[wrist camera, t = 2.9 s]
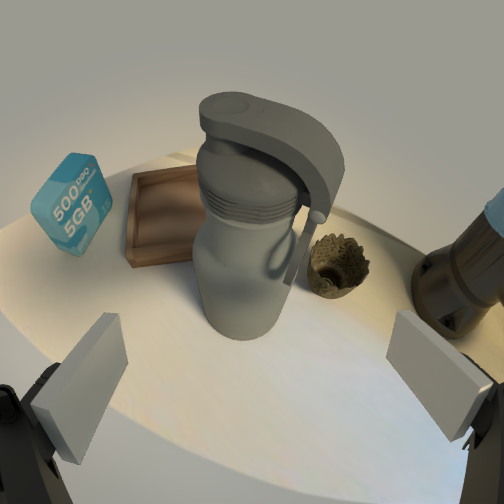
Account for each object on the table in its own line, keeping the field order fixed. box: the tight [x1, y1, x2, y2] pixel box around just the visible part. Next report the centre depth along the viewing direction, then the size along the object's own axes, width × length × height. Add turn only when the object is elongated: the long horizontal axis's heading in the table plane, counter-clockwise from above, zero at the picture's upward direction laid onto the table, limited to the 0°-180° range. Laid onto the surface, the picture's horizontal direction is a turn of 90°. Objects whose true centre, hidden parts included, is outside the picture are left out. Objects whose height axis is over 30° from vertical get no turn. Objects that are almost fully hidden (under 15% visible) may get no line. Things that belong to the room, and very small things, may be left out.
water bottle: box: [192, 92, 345, 341], centre depth 26 cm, size 10×10×28 cm
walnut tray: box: [125, 165, 206, 268], centre depth 44 cm, size 16×16×4 cm
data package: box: [31, 153, 112, 256], centre depth 38 cm, size 12×4×12 cm, turn 164°
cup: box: [307, 234, 370, 299], centre depth 37 cm, size 7×7×8 cm
